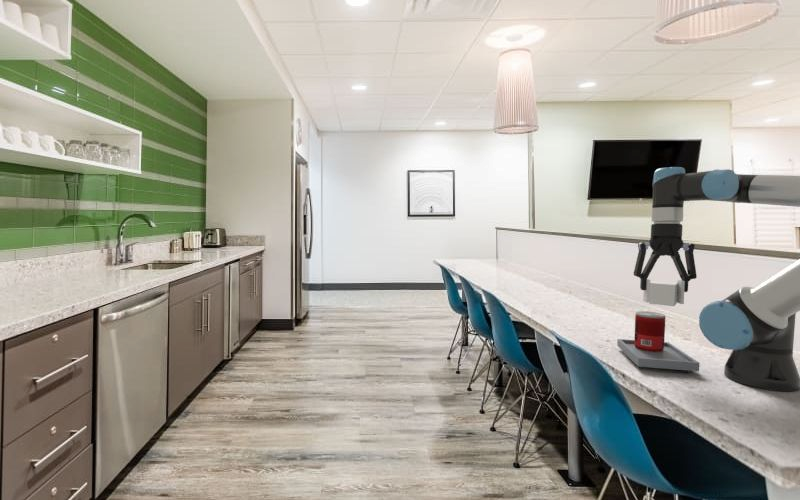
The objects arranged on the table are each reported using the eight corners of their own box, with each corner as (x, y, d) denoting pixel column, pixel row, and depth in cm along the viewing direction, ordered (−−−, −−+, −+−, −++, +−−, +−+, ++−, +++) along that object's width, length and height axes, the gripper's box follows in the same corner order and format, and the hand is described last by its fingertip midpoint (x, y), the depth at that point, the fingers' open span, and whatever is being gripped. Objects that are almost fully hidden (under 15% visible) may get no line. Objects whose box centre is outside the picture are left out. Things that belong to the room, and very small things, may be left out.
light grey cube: (649, 303, 118) (649, 282, 118) (652, 301, 123) (653, 280, 122) (674, 306, 114) (675, 284, 114) (676, 303, 119) (677, 282, 119)
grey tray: (617, 349, 136) (617, 338, 136) (668, 353, 133) (668, 342, 132) (637, 370, 116) (638, 358, 116) (698, 375, 112) (699, 362, 112)
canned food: (669, 352, 125) (671, 316, 124) (642, 352, 125) (644, 316, 124) (654, 345, 132) (655, 311, 132) (629, 344, 133) (630, 310, 132)
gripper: (702, 223, 119) (698, 302, 120) (622, 222, 123) (619, 298, 125) (715, 223, 111) (711, 306, 112) (630, 222, 116) (627, 302, 117)
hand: (663, 302), depth 119 cm, fingers closed on light grey cube, 8 cm apart
